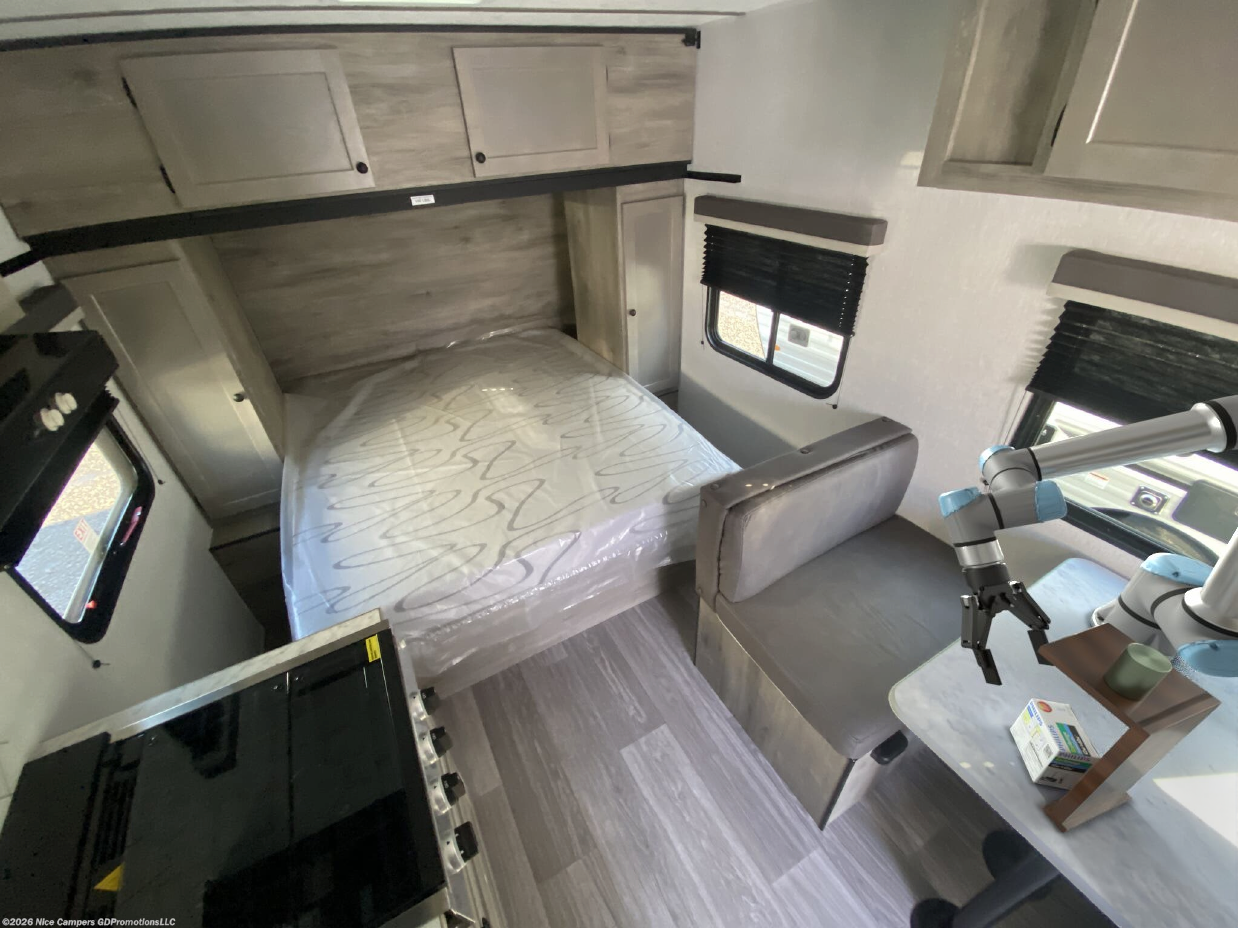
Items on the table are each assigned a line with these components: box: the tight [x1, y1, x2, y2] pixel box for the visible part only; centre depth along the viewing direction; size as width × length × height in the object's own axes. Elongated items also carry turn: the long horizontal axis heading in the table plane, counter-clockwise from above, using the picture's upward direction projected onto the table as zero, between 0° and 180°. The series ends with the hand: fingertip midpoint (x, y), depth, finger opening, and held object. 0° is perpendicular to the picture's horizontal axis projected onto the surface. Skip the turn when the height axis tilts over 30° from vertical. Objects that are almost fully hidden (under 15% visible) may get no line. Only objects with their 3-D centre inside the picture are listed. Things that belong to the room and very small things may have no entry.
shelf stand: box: [1038, 622, 1223, 834], centre depth 86 cm, size 16×17×36 cm
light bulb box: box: [1009, 697, 1101, 791], centre depth 95 cm, size 11×7×11 cm, turn 168°
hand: (1021, 674), depth 98 cm, fingers open, 13 cm apart
